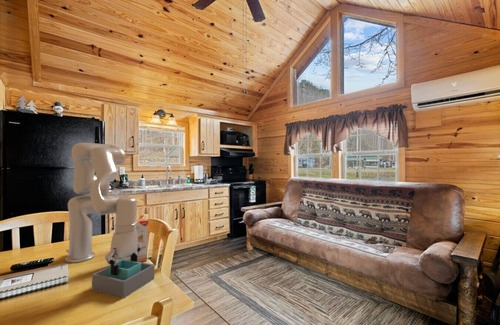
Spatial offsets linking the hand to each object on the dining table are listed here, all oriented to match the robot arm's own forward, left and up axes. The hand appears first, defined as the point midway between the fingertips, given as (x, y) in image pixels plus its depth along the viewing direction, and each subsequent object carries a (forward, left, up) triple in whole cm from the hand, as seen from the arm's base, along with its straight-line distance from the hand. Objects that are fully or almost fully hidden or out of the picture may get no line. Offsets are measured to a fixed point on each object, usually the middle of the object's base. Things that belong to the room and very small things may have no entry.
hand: (124, 269), depth 99 cm
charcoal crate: (0, 0, -6) cm, 6 cm away
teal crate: (0, 0, -5) cm, 5 cm away
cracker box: (-14, +17, -6) cm, 23 cm away
